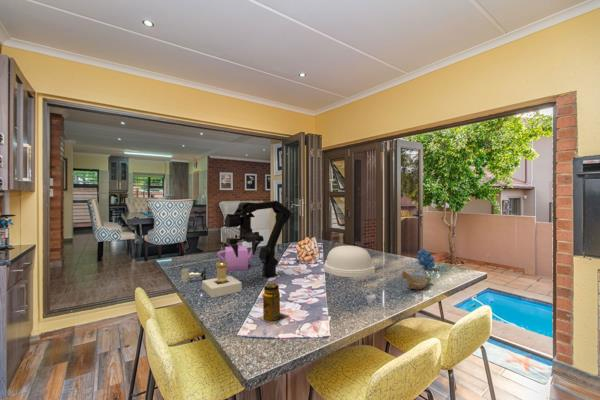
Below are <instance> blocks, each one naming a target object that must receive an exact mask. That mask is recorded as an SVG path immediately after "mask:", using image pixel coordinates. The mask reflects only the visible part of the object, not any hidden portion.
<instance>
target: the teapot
mask: <svg viewBox="0 0 600 400" xmlns="http://www.w3.org/2000/svg"><path fill="white" fill-rule="evenodd" d="M224 248H225V249H224V250H220V251H217V253H216V255H217V257H218V258H219V259H220V260H221V261H226V262H228V265H227V272H233V271H234V272H235V271H248V270H249V261H251V259H252V257H253V256H254V255H253V254H252V248H250V251H249V250H248V248H247V246H246V245H239V244H238V257H236V255H235V253H234V250H233V248H232V247H231V246H225V247H224ZM257 248H259V246H257ZM257 248H256V249H257ZM222 254H225V255H224V257H223V255H222Z"/></svg>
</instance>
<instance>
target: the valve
mask: <svg viewBox="0 0 600 400" xmlns="http://www.w3.org/2000/svg"><path fill="white" fill-rule="evenodd" d="M190 270H191V269H190V268H187V267H185V268H182V269H181V274H180V277H181V283H183V284H185V283H188V282H191V279H194V277H201V278H202V279H203V280H207V268H206V267H203V270H202V271H201V272H200V273H199V272H194V271H191V272H190ZM190 278H191V279H190Z"/></svg>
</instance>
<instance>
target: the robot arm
mask: <svg viewBox="0 0 600 400" xmlns="http://www.w3.org/2000/svg"><path fill="white" fill-rule="evenodd" d="M236 208H237V209H236V210H235V212H234V213H226V216H225V218H224V226H225V228H238V231H239V235H238V238H237V237H234V236H233V237H227V238H226V240H225V243H226V244H227V245H229V246H230V247H232V248H233V250H234V253H235V255H236V257H238V245H239V244H238V243H242V242H246V243H247V244H248V243H251V249H252V254H253V255H252V256H255V253H256V251H257V247H259V244H262V242H264V241H265V240H264V236H263V235H261V234H260V232H259V231H254V232H253V228H252V218H255V215H254V214H253V213H254V212H256V211H258V210H265V209H272V211H273V212H274V213H275V222H274V225H273V228H272V231H271V233H270V236H269V238H268V240H267V243H266V245H265V246H264V247H263V246H261V248H260V251H259V253H258V258H259V260H260V262H261V264H262V273H261V276H263V277H265V278H271V277H277V276H278V274H277V273H276V270H277V269H276V267H277V265H278V263H279V261H278V260H277V258H276V257H275V256H276V246H277V243H278V241H279V238H280V237H281V233H282V230H283V228H284V225H285V224H286V223H287V222H289V219H290V218H291V215H292V212H291V210H290V209H288V208H287V207H286V206H285V205H283V204H282V203H280V202H279V201H278V200H270V201H260V202H249V201H248V202H247V201H246V202H245V201H241V202H239V204H238V206H237V207H236Z"/></svg>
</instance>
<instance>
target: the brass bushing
mask: <svg viewBox="0 0 600 400" xmlns="http://www.w3.org/2000/svg"><path fill="white" fill-rule="evenodd" d="M227 265H228V262H226V261H223V260H221V261H217V262H215V267H216V278H217V284H223V283H227V276H228V275H227V272H228V271H227Z"/></svg>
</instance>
